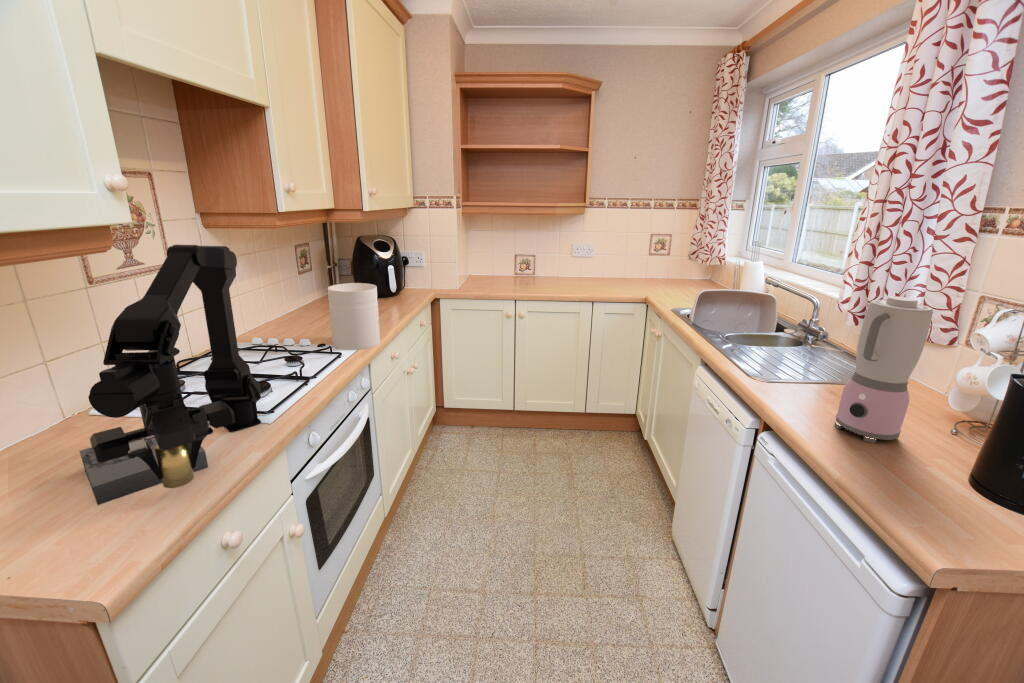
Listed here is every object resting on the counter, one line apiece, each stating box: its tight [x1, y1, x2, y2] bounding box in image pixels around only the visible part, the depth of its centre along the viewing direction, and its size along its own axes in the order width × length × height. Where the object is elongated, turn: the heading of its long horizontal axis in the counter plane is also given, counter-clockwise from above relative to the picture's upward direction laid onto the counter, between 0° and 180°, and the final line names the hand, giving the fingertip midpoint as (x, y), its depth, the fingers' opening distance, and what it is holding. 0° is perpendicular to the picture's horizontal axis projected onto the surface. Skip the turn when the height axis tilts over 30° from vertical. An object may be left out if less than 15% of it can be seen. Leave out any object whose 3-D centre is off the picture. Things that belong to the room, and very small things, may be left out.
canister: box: [327, 282, 381, 351], centre depth 160 cm, size 16×16×20 cm
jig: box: [79, 437, 209, 506], centre depth 86 cm, size 16×16×4 cm
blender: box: [834, 295, 934, 444], centre depth 103 cm, size 16×12×32 cm
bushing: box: [155, 443, 195, 489], centre depth 78 cm, size 4×4×7 cm
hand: (177, 472), depth 79 cm, fingers closed on bushing, 4 cm apart
